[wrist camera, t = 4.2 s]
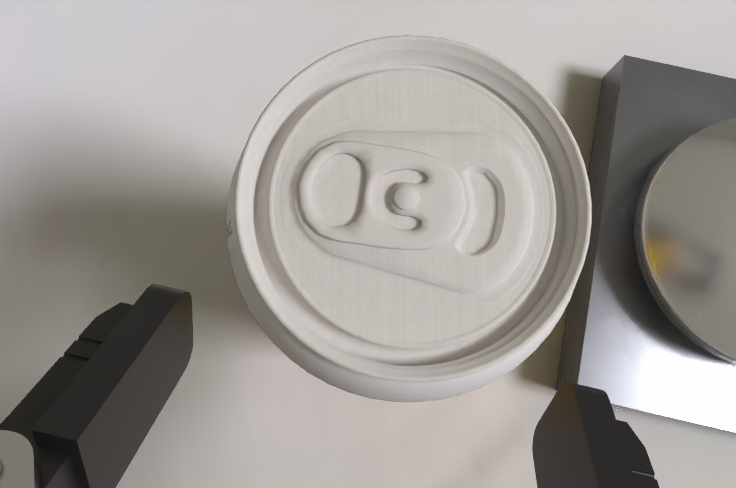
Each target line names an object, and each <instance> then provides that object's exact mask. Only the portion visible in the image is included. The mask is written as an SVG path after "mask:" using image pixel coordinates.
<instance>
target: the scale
mask: <svg viewBox="0 0 736 488" xmlns="http://www.w3.org/2000/svg"><path fill="white" fill-rule="evenodd" d="M732 118H736V79H733V78H728V77H723V76H719V75H714V74H710V73H705V72H700V71H696V70H691V69H686V68H682V67H677V66H673V65H668V64H663V63H659V62H654V61H649V60H645V59H640V58H636V57H631V56H626V55H624V56H623V57H622V58H621V59H620V60H619V62H618V63H617V64H616V65H615V66H614V67H613V68H612V69H611V70H610V71H609V72H608V73H607V74H606V75H605V76H604V77H603V80H602V87H601V93H600V100H599V107H598V113H597V120H596V127H595V133H594V140H593V147H592V153H591V160H590V167H589V173H588V180H589V185H590V194H591V203H592V223H591V232H590V239H589V246H588V249H587V253H586V257H585V261H584V265H583V267H582V270H581V272H580V275H579V278H578V280H577V283H576V286H575V288H574V291H573V293H572V296H571V299H570V301H569V307H568V313H567V320H566V327H565V333H564V340H563V347H562V353H561V360H560V367H559V373H558V380H557V387H556V390H557V391H558V389H559V388H560V386H561V385H562V384H563V383H564V382H571V383H575V384H579V385H584V386H588V387H592V388H596V389H601V390H603V391H605V392H606V393H607V395H608V397H609V400H610V403H611V404H614V405H619V406H623V407H627V408H632V409H636V410H640V411H645V412H649V413H653V414H658V415H662V416H667V417H671V418H675V419H680V420H684V421H688V422H693V423H697V424H701V425H706V426H710V427H714V428H719V429H723V430H727V431H732V432H736V364H734V363H731V362H729V361H726V360H724V359H722V358H720V357H717V356H715V355H713V354H711V353H710V352H708V351H706V350H705V349H703V348H701V347H700V346H698V345H697V344H696V343H694V342H693V341H692V340H690V339H689V338H688V337H686V336H685V335H684V334H683V333H682V332H681V331H680V330H679V329H678V328H677V327H676V326H675V325H674V324H673V323H672V322H671V321H670V320H669V319H668V317H667V316H666V315H665V314H664V312H663V311H662V310H661V309H660V307H659V306H658V304H657V302H656V301H655V299H654V298H653V296H652V295H651V292H650V290H649V288H648V286H647V284H646V282H645V280H644V277H643V275H642V272H641V269H640V266H639V263H638V258H637V253H636V248H635V236H634V225H635V213H636V208H637V203H638V199H639V196H640V194H641V191H642V188H643V185H644V184H645V182H646V180H647V178H648V176H649V174H650V172H651V171H652V170H653V168H654V167H655V166H656V164H657V163H658V162H659V160H660V159H661V158H662V157H663V156H664V155H665V154H666V153H667V152H668V151H670V150H671V149H672V148H674V147H675V146H676V145H678V144H679V143H680V142H682V141H684V140H685V139H687V138H689V137H690V136H692V135H694V134H695V133H697V132H699V131H701V130H703V129H704V128H706V127H708V126H710V125H713V124H715V123H718V122H721V121H723V120H727V119H732Z"/></svg>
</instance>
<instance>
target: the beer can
mask: <svg viewBox="0 0 736 488" xmlns="http://www.w3.org/2000/svg"><path fill="white" fill-rule="evenodd" d="M591 223H592V203H591V194H590V185H589V180H588V176H587V172H586V167H585V163H584V161H583V158H582V155H581V152H580V150H579V147H578V144H577V142H576V140H575V138H574V136H573V134H572V132H571V130H570V128H569V127H568V125H567V124H566V122H565V120H564V119H563V117H562V116H561V114H560V113H559V111H558V110H557V109H556V107H555V106H554V105H553V104H552V103H551V101H550V100H549V99H548V98H547V96H546V95H545V94H544V93H543V92H542V91H541V90H540V89H539V88H538V87H537V86H536V85H535V84H534V83H533V82H531V81H530V80H529V79H528V78H526V77H525V76H524V75H523V74H521V73H520V72H519V71H518V70H516V69H515V68H513V67H512V66H510V65H508V64H507V63H505V62H504V61H502V60H501V59H499V58H497V57H495V56H493V55H491V54H489V53H487V52H484V51H482V50H480V49H477V48H474V47H472V46H469V45H466V44H463V43H459V42H455V41H451V40H448V39H442V38H435V37H429V36H410V35H404V36H389V37H382V38H377V39H371V40H366V41H363V42H359V43H356V44H352V45H349V46H347V47H344V48H342V49H339V50H337V51H334V52H332V53H330V54H328V55H326V56H325V57H323V58H321V59H319V60H317V61H315V62H314V63H312V64H311V65H309V66H308V67H307V68H305V69H304V70H302V71H301V72H299V73H298V74H297V75H296V76H295V77H294V78H292V79H291V80H290V81H289V82H288V83H287V84H286V85H285V86H283V88H282V89H281V90H280V91H279V92H278V93H277V94H276V95H275V97H274V98H273V99H272V100H271V101H270V102H269V104H268V105H267V107H266V108H265V110H264V111H263V112H262V114H261V115H260V117H259V118H258V120H257V122H256V124H255V126H254V128H253V129H252V131H251V133H250V135H249V138H248V140H247V143H246V145H245V148H244V149H243V151H242V154H241V156H240V159H239V161H238V164H237V166H236V169H235V172H234V175H233V179H232V183H231V187H230V191H229V198H228V205H227V223H226V232H227V242H228V252H229V256H230V261H231V265H232V270H233V273H234V276H235V279H236V282H237V284H238V287H239V290H240V292H241V294H242V297H243V299H244V301H245V303H246V305H247V307H248V309H249V311H250V312H251V314H252V315H253V317H254V318H255V320H256V321H257V323H258V324H259V326H260V327H261V329H262V330H263V331H264V332H265V334H266V335H267V336H268V337H269V338H270V339H271V341H272V342H273V343H274V344H275V345H276V346H277V347H278V348H279V349H280V350H281V351H282V352H283V353H284V354H285V355H286V356H287V357H289V358H290V359H291V360H292V361H293V362H295V363H296V364H297V365H299V366H300V367H301V368H303V369H304V370H306V371H307V372H308V373H310V374H312V375H313V376H315V377H317V378H319V379H321V380H322V381H324V382H326V383H328V384H330V385H332V386H335V387H337V388H340V389H342V390H345V391H347V392H350V393H353V394H357V395H360V396H364V397H368V398H372V399H379V400H385V401H392V402H423V401H433V400H440V399H445V398H449V397H454V396H458V395H461V394H464V393H467V392H470V391H473V390H475V389H478V388H481V387H483V386H485V385H487V384H489V383H491V382H493V381H495V380H497V379H499V378H500V377H502V376H503V375H505V374H506V373H508V372H509V371H511V370H512V369H514V368H515V367H517V366H518V365H519V364H520V363H522V362H523V361H524V360H525V359H526V358H527V357H529V356H530V355H531V354H532V353H533V352H534V351H535V350H536V349H537V348H538V347H539V346H540V345H541V343H542V342H543V341H544V340H545V339H546V338H547V337H548V335H549V334H550V333H551V331H552V330H553V328H554V327H555V325H556V324H557V323H558V321H559V320H560V318H561V316H562V314H563V312H564V311H565V309H566V307H567V305H568V303H569V301H570V299H571V296H572V293H573V291H574V288H575V286H576V283H577V280H578V278H579V275H580V272H581V270H582V267H583V265H584V261H585V257H586V253H587V249H588V246H589V239H590V232H591Z"/></svg>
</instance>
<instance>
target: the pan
mask: <svg viewBox="0 0 736 488" xmlns="http://www.w3.org/2000/svg"><path fill="white" fill-rule="evenodd" d="M634 236H635V248H636V253H637V258H638V263H639V266H640V269H641V272H642V275H643V277H644V280H645V282H646V284H647V286H648V288H649V290H650V292H651V295H652V296H653V298H654V299H655V301H656V302H657V304H658V306H659V307H660V309H661V310H662V311H663V312H664V314H665V315H666V316H667V317H668V319H669V320H670V321H671V322H672V323H673V324H674V325H675V326H676V327H677V328H678V329H679V330H680V331H681V332H682V333H683V334H684V335H685V336H686V337H688V338H689V339H690V340H692V341H693V342H694V343H696V344H697V345H698V346H700V347H701V348H703V349H705V350H706V351H708V352H710V353H711V354H713V355H715V356H717V357H720V358H722V359H724V360H726V361H729V362H731V363H734V364H736V118H732V119H727V120H723V121H721V122H718V123H715V124H713V125H710V126H708V127H706V128H704V129H703V130H701V131H699V132H697V133H695V134H694V135H692V136H690V137H689V138H687V139H685V140H684V141H682V142H680V143H679V144H678V145H676V146H675V147H674V148H672V149H671V150H670V151H668V152H667V153H666V154H665V155H664V156H663V157H662V158H661V159H660V160H659V162H658V163H657V164H656V166H655V167H654V168H653V170H652V171H651V172H650V174H649V176H648V178H647V180H646V182H645V184H644V185H643V188H642V191H641V194H640V196H639V199H638V203H637V208H636V213H635V225H634Z"/></svg>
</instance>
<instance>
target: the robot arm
mask: <svg viewBox="0 0 736 488" xmlns="http://www.w3.org/2000/svg"><path fill="white" fill-rule="evenodd" d="M192 348H193V325H192V300H191V295H190V293H189V292H186V291H182V290H177V289H173V288H169V287H164V286H160V285H156V284H153V285H151V286H149V287H148V288H147V289H146V290H145V292H144V293H143V294H142V295H141V297H140V298H139V299H138V300H137V301H136V303H135V304H134V305H130V304H126V303H119V304H117V305H116V306H114V307H112V308H111V309H109V310H107V311H105V312H104V313H102V314H100V315H99V316H97V317H96V318H95V319H94V320H93V321H92V322H91V323H90V325H89V326H88V327H87V328H86V329H85V330H84V331H83V332H82V334H81V335H80V336H79V339H78V340H77V341H76V340H75V341H74V343H73V344H72V345H71V346H70V347H69V348H68V349H67V350H66V352H65V353H64V356H63V357H60V358H59V359H58V361H57V362H56V363H55V364H54V365H53V366H52V367H51V368H50V370H49V371H48V372H47V373H46V374H45V375H44V376H43V377H42V379H41V380H40V381H39V382H38V383H37V384H36V385H35V386H34V388H33V389H32V390H31V391H30V392H29V393H28V394H27V395H26V397H25V398H24V399H23V400H22V401H21V402H20V403H19V404H18V406H17V407H16V408H15V409H14V410H13V411H12V412H11V413H10V415H9V416H8V417H7V418H6V419H5V420H4V421H3V422H2V423H1V424H0V488H115V487H116V486H117V484H118V482H119V481H120V479H121V477H122V476H123V474H124V472H125V471H126V469H127V467H128V465H129V464H130V462H131V460H132V459H133V457H134V455H135V454H136V452H137V450H138V449H139V447H140V445H141V444H142V442H143V440H144V438H145V437H146V435H147V433H148V432H149V430H150V428H151V427H152V425H153V423H154V422H155V420H156V418H157V416H158V415H159V413H160V411H161V410H162V408H163V406H164V405H165V403H166V401H167V400H168V398H169V396H170V394H171V393H172V391H173V389H174V388H175V386H176V384H177V383H178V381H179V379H180V378H181V376H182V374H183V372H184V371H185V369H186V367H187V365H188V362H189V359H190V356H191V353H192ZM533 459H534V466H535V473H536V480H537V487H538V488H659V485H658V482H657V480H656V479H654V475H655V474H654V471H653V468H652V465H651V462H650V460H649V457H648V454H647V451H646V448H645V447H644V445H643V444H642V442H641V441H640V440H639V438H638V437H637V436H636V434H635V433H634V431H633V430H632V429H631V427H630V426H629V425H628V423H627V422H623V421H619V420H616V418H615V415H614V412H613V409H612V406H611V403H610V400H609V397H608V395H607V393H606V392H605V391H603V390H601V389H596V388H592V387H588V386H584V385H579V384H575V383H571V382H564V383H563V384H562V385H561V386H560V388H559V389H558V391H557V393H556V394H555V396H554V398H553V399H552V401H551V402H550V404H549V406H548V407H547V409H546V411H545V412H544V414H543V416H542V417H541V419H540V421H539V422H538V424H537V426H536V429H535V432H534V437H533Z"/></svg>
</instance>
